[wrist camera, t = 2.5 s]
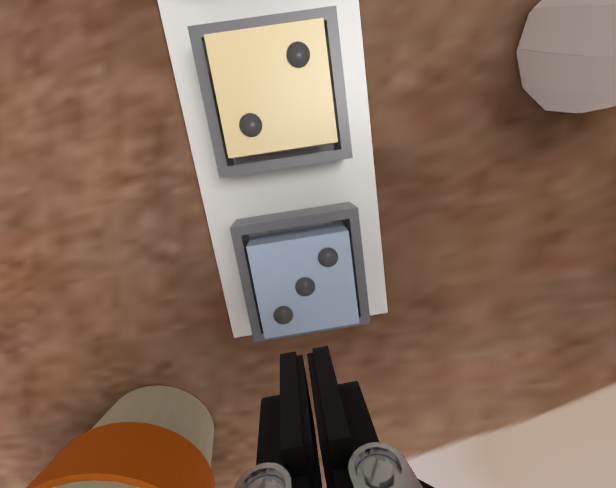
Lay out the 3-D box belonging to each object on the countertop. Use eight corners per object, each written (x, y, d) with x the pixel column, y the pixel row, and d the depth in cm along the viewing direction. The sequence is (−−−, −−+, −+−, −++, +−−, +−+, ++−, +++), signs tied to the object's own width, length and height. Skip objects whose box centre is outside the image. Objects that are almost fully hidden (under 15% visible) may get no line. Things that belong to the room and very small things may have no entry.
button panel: (334, -211, 19) (346, -306, 15) (384, 307, 27) (400, 331, 23) (120, -185, 19) (76, -275, 15) (235, 331, 27) (227, 360, 23)
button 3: (341, 222, 22) (348, 231, 19) (351, 306, 23) (359, 323, 21) (250, 237, 22) (246, 247, 19) (266, 320, 23) (264, 339, 21)
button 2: (318, 35, 19) (323, 17, 17) (331, 143, 21) (338, 141, 18) (214, 50, 19) (203, 33, 17) (235, 158, 21) (228, 158, 18)
